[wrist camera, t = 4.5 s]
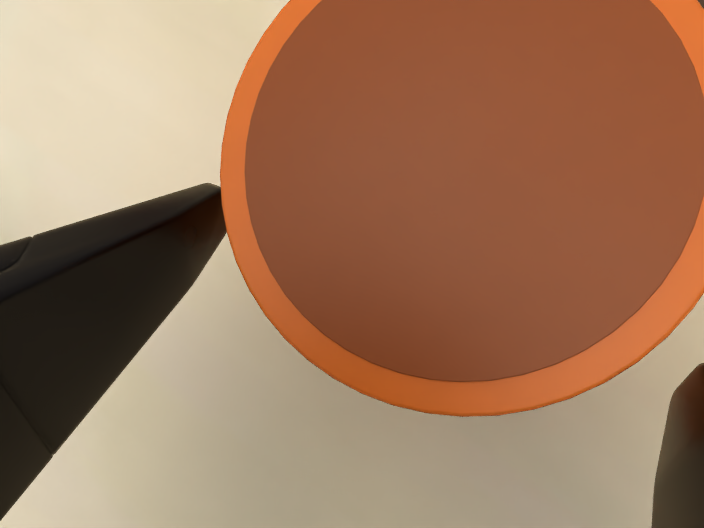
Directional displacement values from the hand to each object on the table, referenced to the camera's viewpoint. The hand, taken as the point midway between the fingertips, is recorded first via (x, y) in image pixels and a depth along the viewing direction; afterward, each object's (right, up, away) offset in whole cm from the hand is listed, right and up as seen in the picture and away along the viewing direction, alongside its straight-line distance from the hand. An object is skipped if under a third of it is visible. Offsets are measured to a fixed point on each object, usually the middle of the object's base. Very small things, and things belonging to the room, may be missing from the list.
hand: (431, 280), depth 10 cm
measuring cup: (+4, +4, +8) cm, 10 cm away
